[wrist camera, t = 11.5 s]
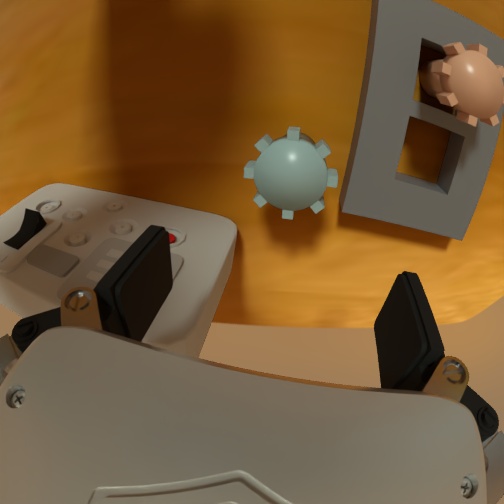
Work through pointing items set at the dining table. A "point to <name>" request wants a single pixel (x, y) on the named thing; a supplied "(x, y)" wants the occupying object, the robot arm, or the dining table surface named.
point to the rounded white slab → (113, 256)
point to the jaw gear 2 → (466, 83)
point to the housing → (402, 106)
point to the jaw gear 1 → (291, 172)
